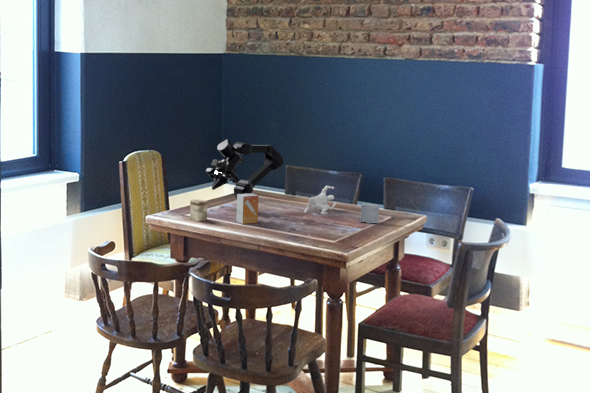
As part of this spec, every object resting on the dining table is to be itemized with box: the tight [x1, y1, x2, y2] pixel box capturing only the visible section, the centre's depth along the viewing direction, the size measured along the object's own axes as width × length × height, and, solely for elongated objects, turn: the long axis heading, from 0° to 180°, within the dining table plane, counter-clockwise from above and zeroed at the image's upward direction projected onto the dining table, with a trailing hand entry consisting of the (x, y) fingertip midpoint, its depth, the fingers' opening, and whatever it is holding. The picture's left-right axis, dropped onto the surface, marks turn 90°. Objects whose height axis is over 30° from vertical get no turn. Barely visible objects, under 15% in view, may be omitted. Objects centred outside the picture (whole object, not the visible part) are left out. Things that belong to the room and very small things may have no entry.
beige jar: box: [189, 198, 208, 222], centre depth 305 cm, size 6×6×9 cm
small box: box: [235, 192, 259, 225], centre depth 303 cm, size 8×6×13 cm
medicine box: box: [359, 203, 380, 224], centre depth 312 cm, size 8×4×9 cm, turn 71°
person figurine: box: [303, 185, 338, 216], centre depth 335 cm, size 13×13×18 cm
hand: (212, 189), depth 309 cm, fingers closed
